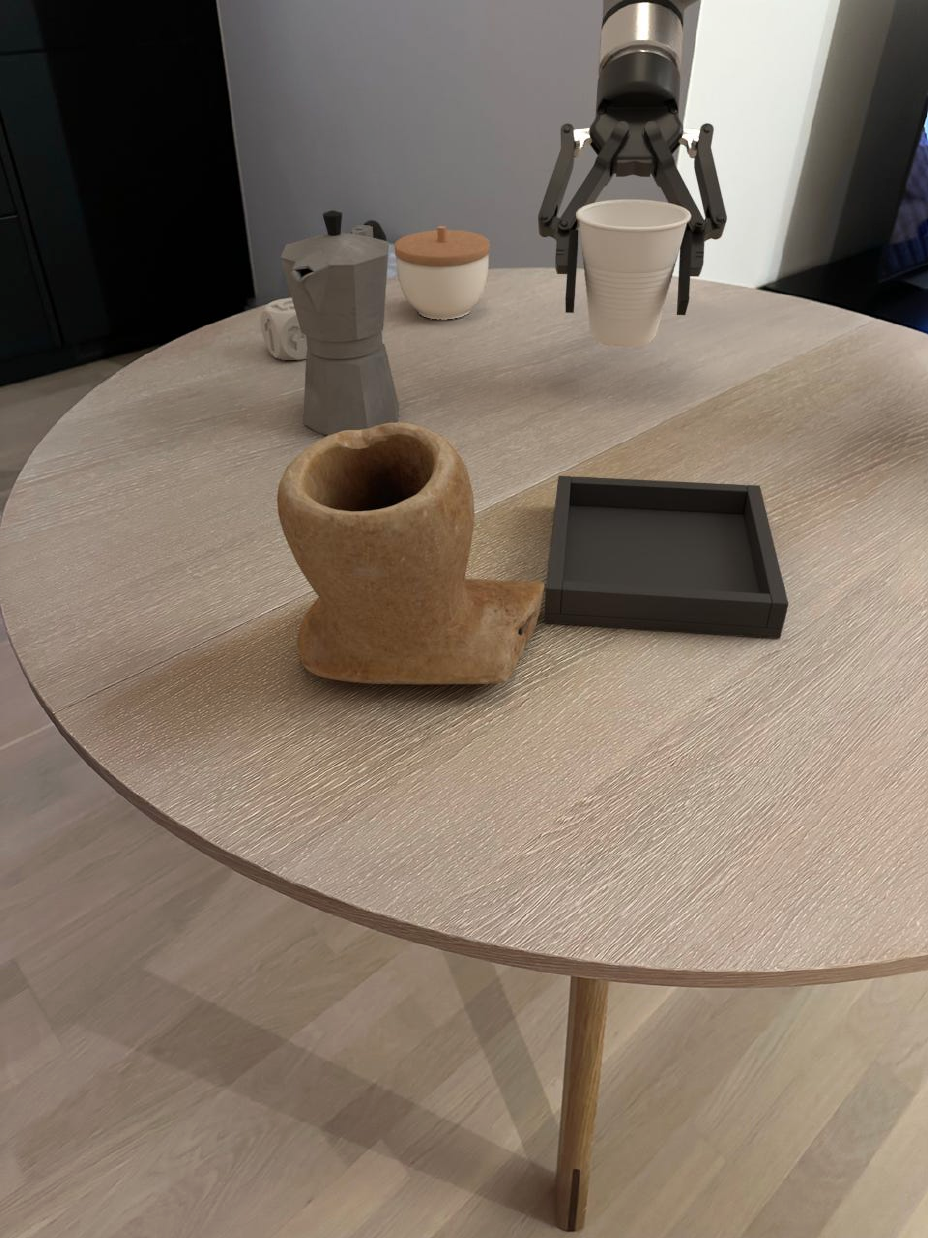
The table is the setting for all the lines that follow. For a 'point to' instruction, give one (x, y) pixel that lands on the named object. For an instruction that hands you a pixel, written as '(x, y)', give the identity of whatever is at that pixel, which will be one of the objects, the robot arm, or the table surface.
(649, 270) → the cup
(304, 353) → the die
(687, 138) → the robot arm
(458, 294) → the trinket box
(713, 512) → the tray
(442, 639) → the stone cup
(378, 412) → the coffeepot
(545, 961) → the table surface
